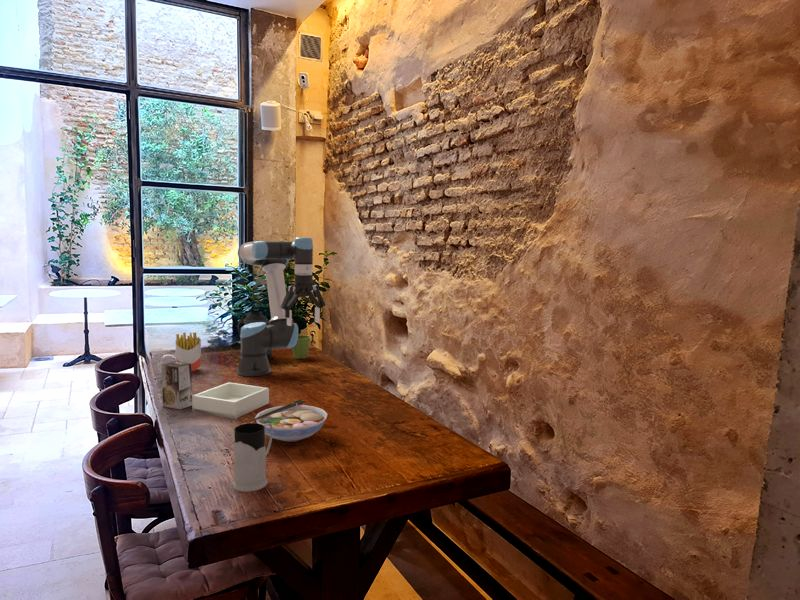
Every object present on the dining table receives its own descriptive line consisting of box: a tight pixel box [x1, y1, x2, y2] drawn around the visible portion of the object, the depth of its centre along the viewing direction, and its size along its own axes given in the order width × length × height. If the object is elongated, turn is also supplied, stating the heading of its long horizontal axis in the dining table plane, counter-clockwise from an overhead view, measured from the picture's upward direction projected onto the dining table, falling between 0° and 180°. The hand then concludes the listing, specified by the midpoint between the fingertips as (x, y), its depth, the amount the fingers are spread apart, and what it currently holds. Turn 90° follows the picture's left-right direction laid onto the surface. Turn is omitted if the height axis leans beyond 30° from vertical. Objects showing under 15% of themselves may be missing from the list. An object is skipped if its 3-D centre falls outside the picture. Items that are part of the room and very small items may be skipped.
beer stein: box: [237, 310, 273, 361], centre depth 281 cm, size 16×19×25 cm
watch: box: [156, 354, 177, 372], centre depth 238 cm, size 6×8×11 cm
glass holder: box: [232, 422, 273, 492], centre depth 141 cm, size 9×14×15 cm, turn 159°
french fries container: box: [175, 331, 202, 372], centre depth 253 cm, size 5×11×18 cm, turn 105°
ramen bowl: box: [247, 399, 329, 443], centre depth 171 cm, size 25×23×8 cm
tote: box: [191, 381, 270, 420], centre depth 201 cm, size 19×20×6 cm
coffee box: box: [160, 360, 193, 410], centre depth 201 cm, size 9×6×16 cm
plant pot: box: [291, 334, 312, 360], centre depth 285 cm, size 12×12×11 cm
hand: (303, 324), depth 228 cm, fingers open, 13 cm apart
